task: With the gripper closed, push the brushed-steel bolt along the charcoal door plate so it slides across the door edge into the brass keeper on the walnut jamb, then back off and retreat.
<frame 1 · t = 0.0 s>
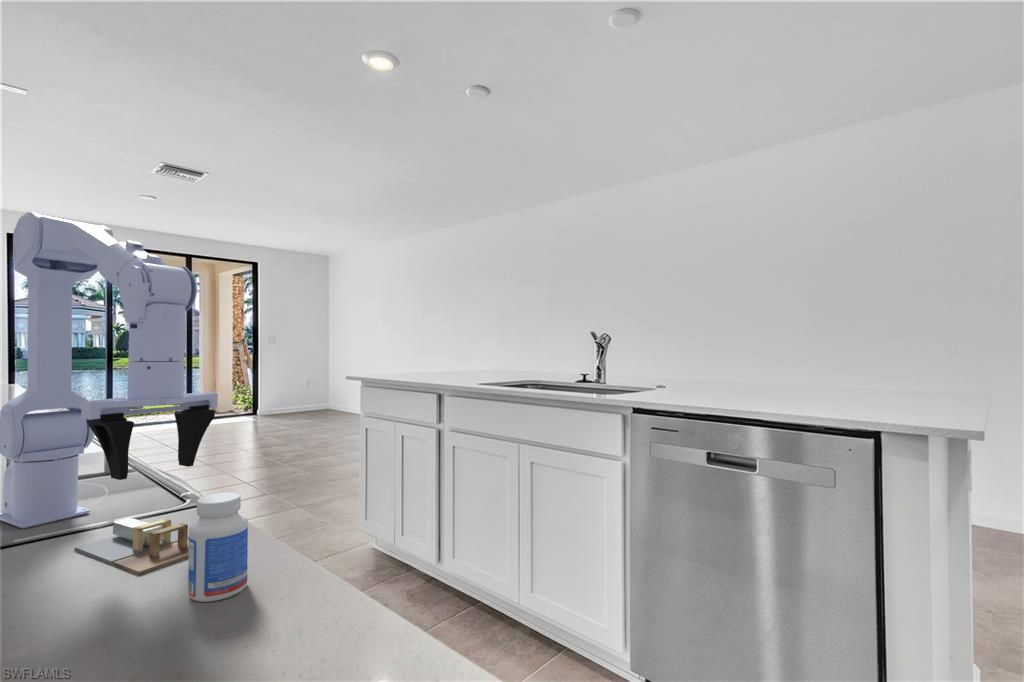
hand: (154, 471, 63), 10 cm above the countertop, tool pointing down, fingers open, 7 cm apart
door: (138, 543, 66), on the countertop
pill bottle: (218, 592, 54), on the countertop
jamb: (171, 554, 63), on the countertop
bolt: (138, 531, 66), point 2 cm above the countertop, slide at 0.0 cm
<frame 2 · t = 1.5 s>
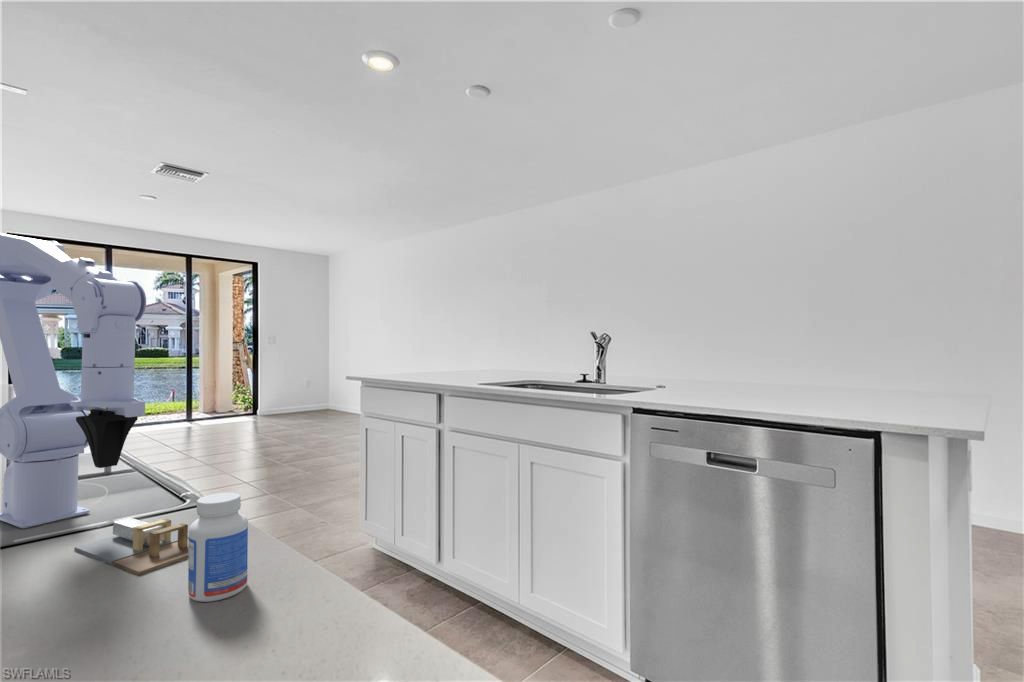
hand: (106, 466, 70), 9 cm above the countertop, tool pointing down, fingers closed
nothing on the countertop moved.
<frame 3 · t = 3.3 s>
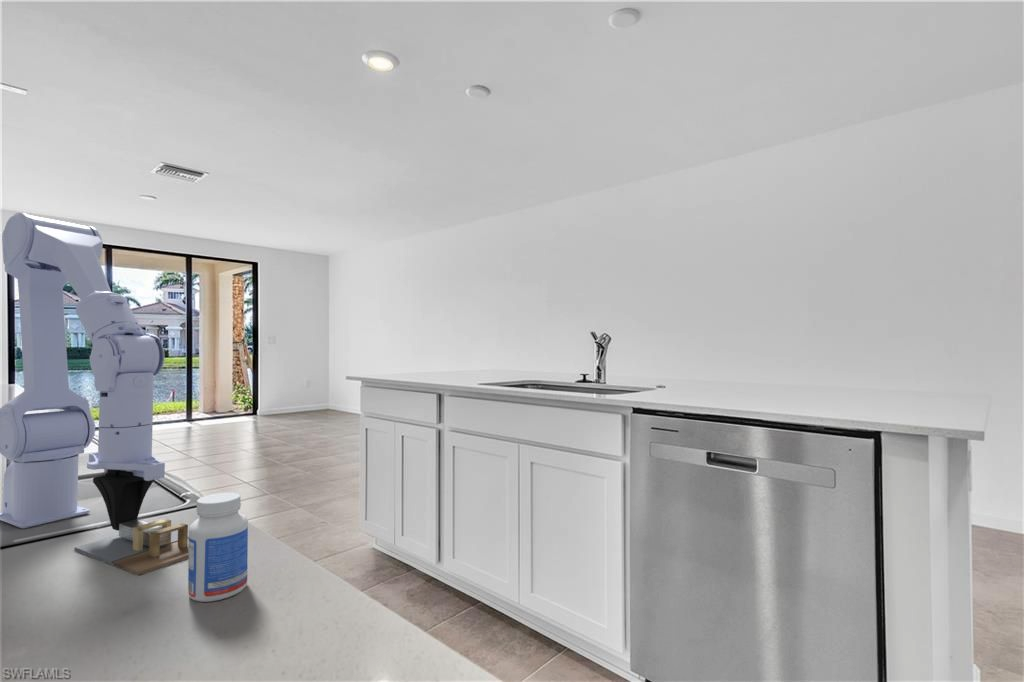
hand: (123, 527, 68), 1 cm above the countertop, tool pointing down, fingers closed
bolt: (144, 533, 65), point 2 cm above the countertop, slide at 1.5 cm, touching gripper
everything else where it was.
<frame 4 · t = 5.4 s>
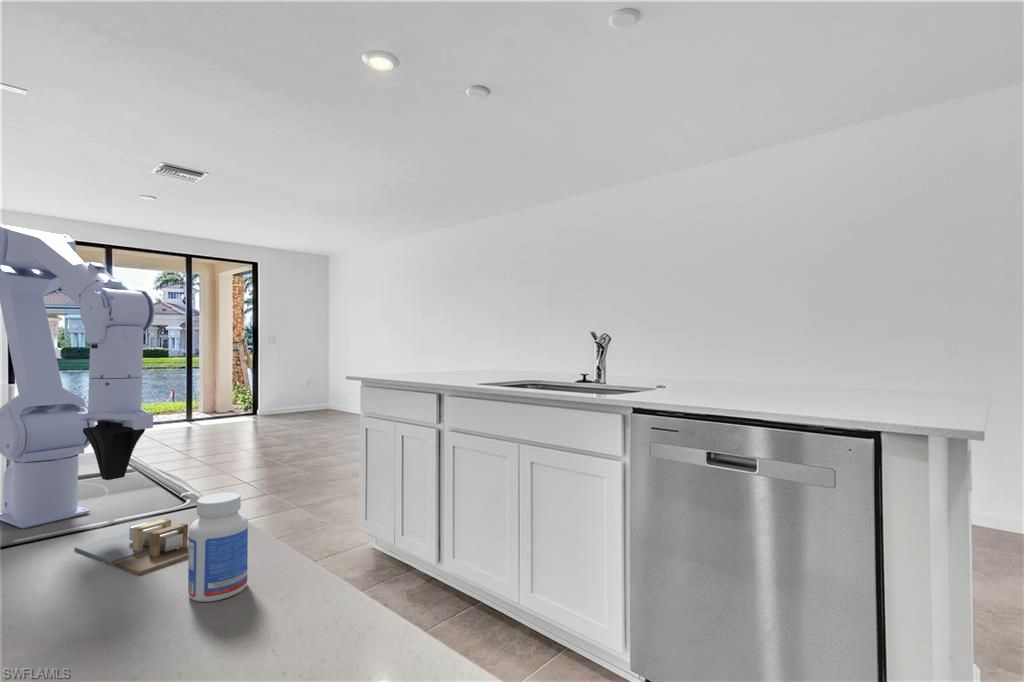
hand: (113, 478, 69), 8 cm above the countertop, tool pointing down, fingers closed
bolt: (155, 536, 64), point 2 cm above the countertop, slide at 4.0 cm
everything else where it was.
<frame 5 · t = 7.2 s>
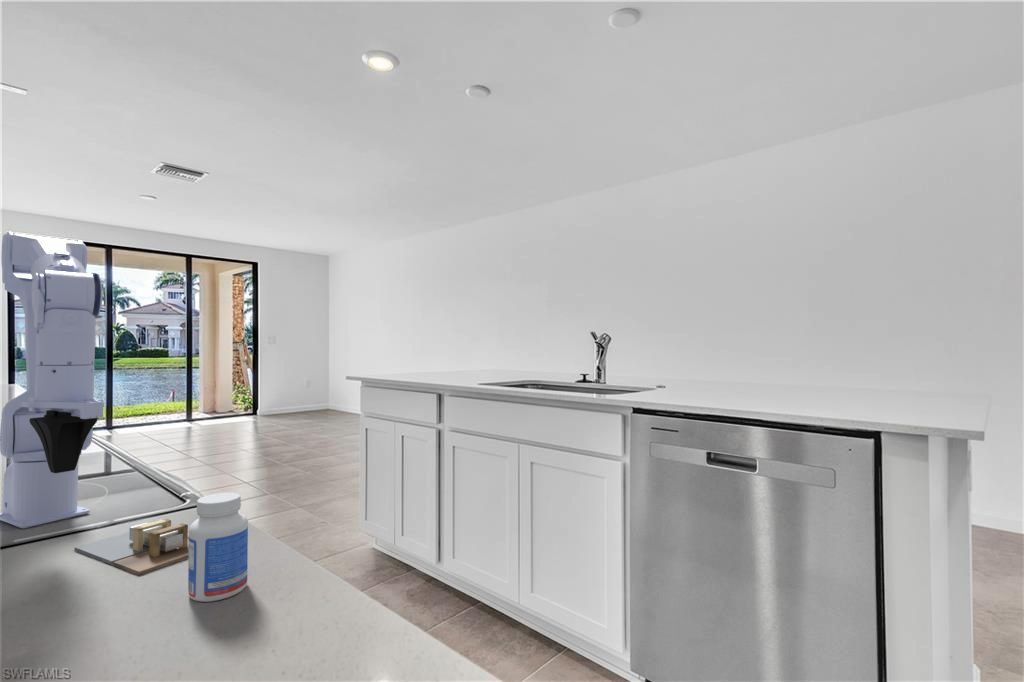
hand: (62, 471, 65), 9 cm above the countertop, tool pointing down, fingers closed
nothing on the countertop moved.
at the end: bolt slide at 4.0 cm; pill bottle moved 0.2 cm from its start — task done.
